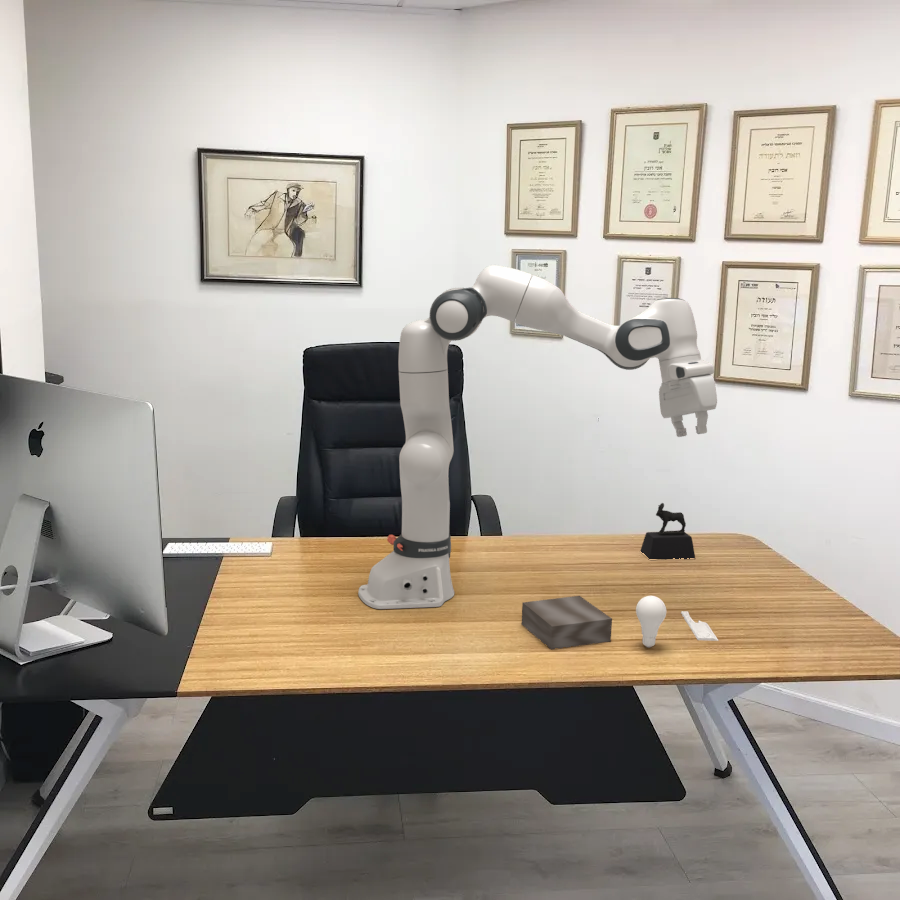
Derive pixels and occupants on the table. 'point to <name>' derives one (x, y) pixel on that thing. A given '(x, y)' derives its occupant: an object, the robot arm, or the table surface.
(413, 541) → the robot arm
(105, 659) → the table surface
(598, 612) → the charcoal block
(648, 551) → the sculpture
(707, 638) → the white plastic blade
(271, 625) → the table surface
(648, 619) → the lightbulb
